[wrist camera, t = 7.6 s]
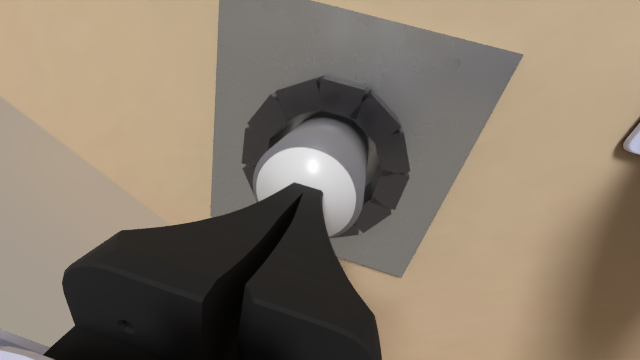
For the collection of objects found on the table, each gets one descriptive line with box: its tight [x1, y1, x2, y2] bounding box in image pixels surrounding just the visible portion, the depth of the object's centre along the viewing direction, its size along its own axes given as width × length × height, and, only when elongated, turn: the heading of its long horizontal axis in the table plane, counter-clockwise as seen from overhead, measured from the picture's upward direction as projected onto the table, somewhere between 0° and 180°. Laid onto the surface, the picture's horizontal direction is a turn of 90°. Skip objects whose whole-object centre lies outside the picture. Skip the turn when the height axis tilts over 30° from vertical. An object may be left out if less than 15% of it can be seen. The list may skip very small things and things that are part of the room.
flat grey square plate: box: [211, 0, 523, 278], centre depth 16 cm, size 16×16×3 cm
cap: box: [253, 111, 369, 239], centre depth 14 cm, size 5×5×6 cm
